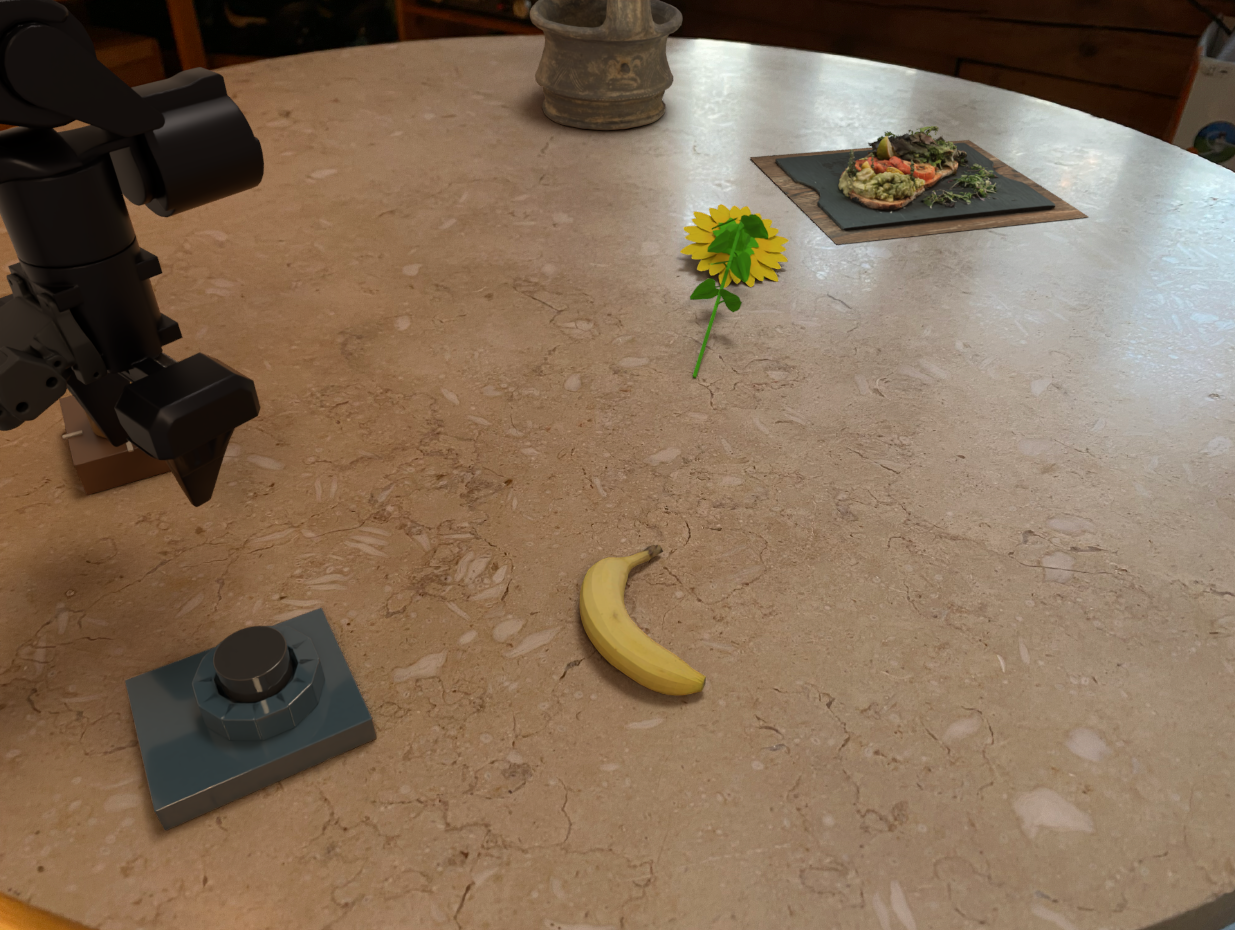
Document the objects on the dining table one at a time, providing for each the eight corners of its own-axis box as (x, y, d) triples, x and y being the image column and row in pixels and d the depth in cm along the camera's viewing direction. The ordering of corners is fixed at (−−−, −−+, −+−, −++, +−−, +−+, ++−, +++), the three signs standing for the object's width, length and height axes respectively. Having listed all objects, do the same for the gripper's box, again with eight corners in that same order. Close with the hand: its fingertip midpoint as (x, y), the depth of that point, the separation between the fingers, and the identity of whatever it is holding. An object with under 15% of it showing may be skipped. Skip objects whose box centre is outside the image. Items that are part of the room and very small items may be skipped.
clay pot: (528, 136, 135) (519, -107, 116) (537, 85, 153) (530, -132, 134) (681, 138, 135) (697, -103, 116) (672, 87, 153) (684, -128, 134)
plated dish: (839, 246, 109) (850, 185, 104) (745, 161, 130) (751, 107, 125) (1091, 219, 117) (1112, 162, 113) (964, 143, 138) (977, 92, 134)
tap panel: (83, 499, 72) (68, 467, 70) (67, 428, 79) (53, 397, 77) (221, 458, 76) (212, 427, 74) (195, 395, 83) (185, 364, 81)
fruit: (660, 549, 69) (662, 519, 67) (718, 695, 59) (722, 664, 57) (562, 565, 68) (561, 534, 66) (604, 716, 57) (605, 686, 56)
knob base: (164, 831, 51) (142, 790, 48) (134, 700, 58) (113, 658, 55) (377, 738, 56) (367, 696, 53) (326, 627, 63) (316, 585, 60)
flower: (743, 430, 91) (796, 224, 107) (768, 378, 84) (821, 166, 100) (624, 392, 92) (695, 192, 107) (639, 337, 84) (713, 131, 100)
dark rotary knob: (230, 713, 53) (221, 690, 51) (214, 664, 55) (205, 641, 54) (301, 685, 54) (294, 662, 53) (282, 638, 57) (275, 616, 56)
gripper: (-165, 243, 49) (-41, 473, 59) (4, 370, 40) (117, 616, 50) (48, 181, 56) (127, 396, 66) (232, 277, 47) (292, 510, 57)
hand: (160, 472), depth 59 cm, fingers open, 9 cm apart
